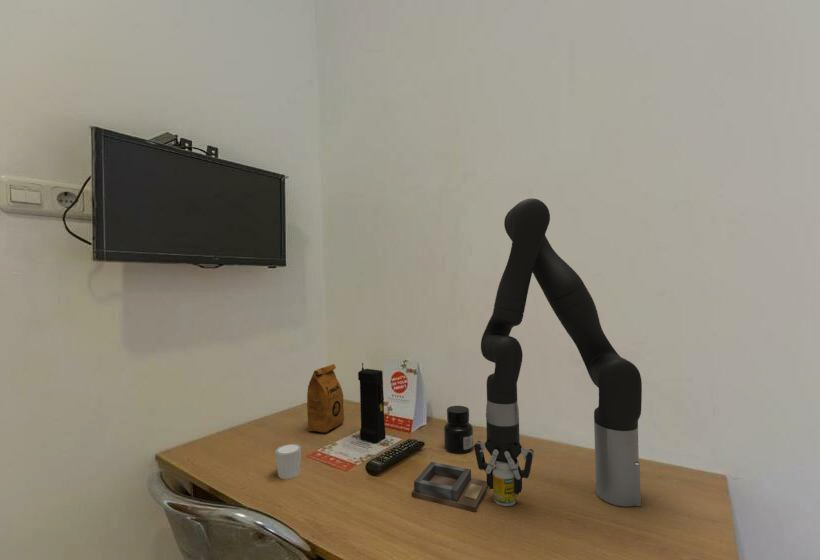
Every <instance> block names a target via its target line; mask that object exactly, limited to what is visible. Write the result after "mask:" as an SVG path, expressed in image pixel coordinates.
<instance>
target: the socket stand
mask: <svg viewBox="0 0 820 560" xmlns="http://www.w3.org/2000/svg"><path fill="white" fill-rule="evenodd" d="M488 488H489V486H487V480H483V479H478V478H473V477H472V469H470V468H465V467H460V466H456V465H450V464H445V463H439V462H434V461H431V462H430V463H429V464H428V465H427V466H426V467H425V468H424V469H423V470H422V472H421V473H420V474H419V475H418V476H417V478H416V479H415V480H414V481H413V490H411V497H413V498H417V499H421V500H425V501H429V502H434V503H437V504H441V505H442V504H443V505H446V506H449V507H454V508H457V509H463V510H467V511H471V512H477V510H478V508H479V506H480V504H481V502H482V501H483V498H484V496H485V494H486V492H487V490H488Z"/></svg>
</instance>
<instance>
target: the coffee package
mask: <svg viewBox="0 0 820 560" xmlns="http://www.w3.org/2000/svg"><path fill="white" fill-rule="evenodd" d="M334 370H336V365H335V364H334V363H333V364H330V365H326V366H324V367H319V368H318V369H316V370H313V373H312V375H311V378H310V380H309V383H308V386H307V391H306V392H307V395H306V399H307V400H306V401H307V402H306V408H307V409H306V410H307V429H308V430H307V431H308V432H319V433H328V432H329V431H331V430H332V429H335V428H337V427H339V426H340V425H342V424H343V423H344V421H345V413H344V412H345V410H344V393H343V388H342V386H341V383H340V381H339V380H338V378H337V376H336V374H335V371H334Z"/></svg>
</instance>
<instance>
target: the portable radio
mask: <svg viewBox="0 0 820 560" xmlns="http://www.w3.org/2000/svg"><path fill="white" fill-rule="evenodd" d="M361 364H362V365H361V366H362V367H361V370H360V371H358V373H357V378H358V379H357V380H358V381H359V395H360V396H359V398H360V400H359V401H360V430H359V439H360V441H364V442H367V443H372V444H376V443H378V442H380V441H382V440H384V439H385V438H387V435H386V424H385V423H386V420H385V401H384V400H385V398H384V397H385V394H384V381H383V380H384V377H383V372H384V371H383V370H379V369H371V368H364V362H362V363H361Z"/></svg>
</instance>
